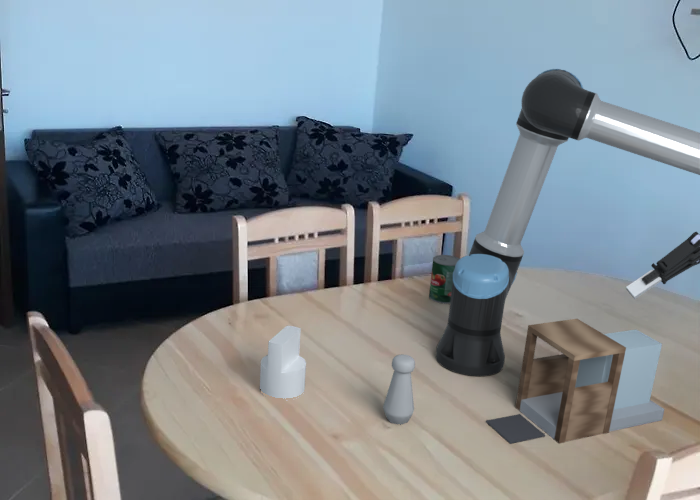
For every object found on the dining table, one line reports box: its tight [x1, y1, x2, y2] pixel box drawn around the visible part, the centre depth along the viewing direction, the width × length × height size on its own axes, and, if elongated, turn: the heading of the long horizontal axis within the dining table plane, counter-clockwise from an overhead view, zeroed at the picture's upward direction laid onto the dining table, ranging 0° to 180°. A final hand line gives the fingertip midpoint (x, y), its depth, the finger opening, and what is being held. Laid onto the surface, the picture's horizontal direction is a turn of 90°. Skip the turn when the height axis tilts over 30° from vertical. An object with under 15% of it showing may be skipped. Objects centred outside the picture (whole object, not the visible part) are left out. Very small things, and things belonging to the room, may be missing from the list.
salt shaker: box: [382, 354, 416, 426], centre depth 146 cm, size 6×6×13 cm
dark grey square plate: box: [485, 413, 546, 445], centre depth 147 cm, size 8×8×1 cm
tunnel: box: [514, 318, 626, 444], centre depth 149 cm, size 12×14×18 cm
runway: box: [519, 392, 665, 440], centre depth 155 cm, size 26×13×2 cm, turn 115°
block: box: [575, 328, 663, 409], centre depth 154 cm, size 14×7×13 cm, turn 115°
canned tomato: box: [428, 254, 461, 305], centre depth 207 cm, size 8×8×11 cm
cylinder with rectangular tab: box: [259, 325, 307, 399], centre depth 154 cm, size 9×9×12 cm
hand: (630, 293), depth 160 cm, fingers closed
